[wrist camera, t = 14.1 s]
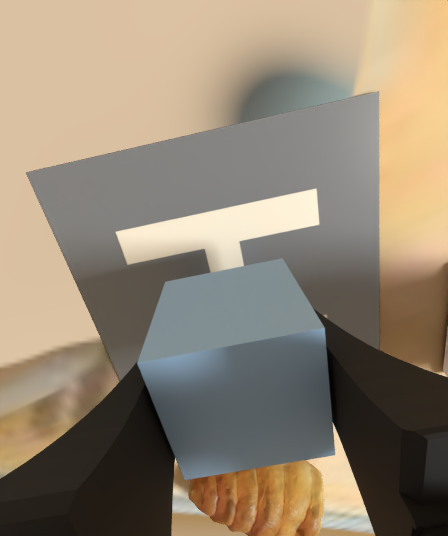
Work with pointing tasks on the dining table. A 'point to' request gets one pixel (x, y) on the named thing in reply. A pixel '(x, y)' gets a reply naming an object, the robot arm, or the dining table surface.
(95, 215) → the board
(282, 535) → the pastry
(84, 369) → the dining table surface
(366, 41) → the dining table surface
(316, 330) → the blue cube
